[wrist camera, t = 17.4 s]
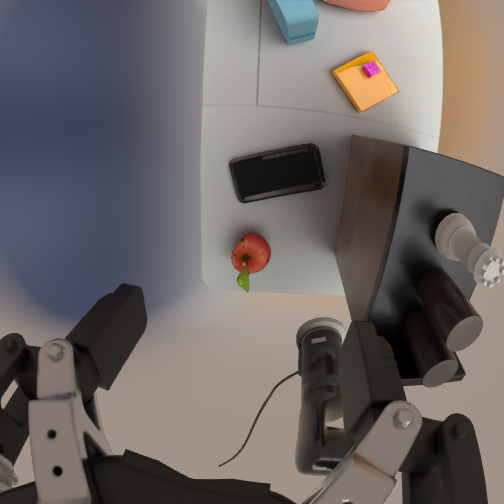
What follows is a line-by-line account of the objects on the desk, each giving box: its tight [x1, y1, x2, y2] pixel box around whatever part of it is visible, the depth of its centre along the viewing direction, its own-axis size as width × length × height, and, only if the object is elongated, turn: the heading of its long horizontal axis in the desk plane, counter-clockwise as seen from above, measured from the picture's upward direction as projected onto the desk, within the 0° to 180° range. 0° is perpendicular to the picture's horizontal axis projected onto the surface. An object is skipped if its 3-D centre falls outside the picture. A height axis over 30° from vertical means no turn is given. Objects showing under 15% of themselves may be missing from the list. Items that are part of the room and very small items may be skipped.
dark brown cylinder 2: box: [402, 309, 458, 387], centre depth 23 cm, size 4×4×8 cm
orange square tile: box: [332, 51, 399, 112], centre depth 35 cm, size 8×8×4 cm
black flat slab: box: [363, 145, 504, 386], centre depth 21 cm, size 22×13×7 cm, turn 177°
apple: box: [231, 233, 271, 292], centre depth 48 cm, size 8×7×10 cm
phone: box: [229, 143, 325, 203], centre depth 45 cm, size 8×1×15 cm
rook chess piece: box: [435, 213, 504, 288], centre depth 18 cm, size 4×4×8 cm
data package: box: [266, 0, 319, 44], centre depth 28 cm, size 12×4×12 cm, turn 20°
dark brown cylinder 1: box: [418, 269, 483, 351], centre depth 21 cm, size 4×4×8 cm
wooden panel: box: [335, 135, 404, 321], centre depth 35 cm, size 22×13×23 cm, turn 177°
